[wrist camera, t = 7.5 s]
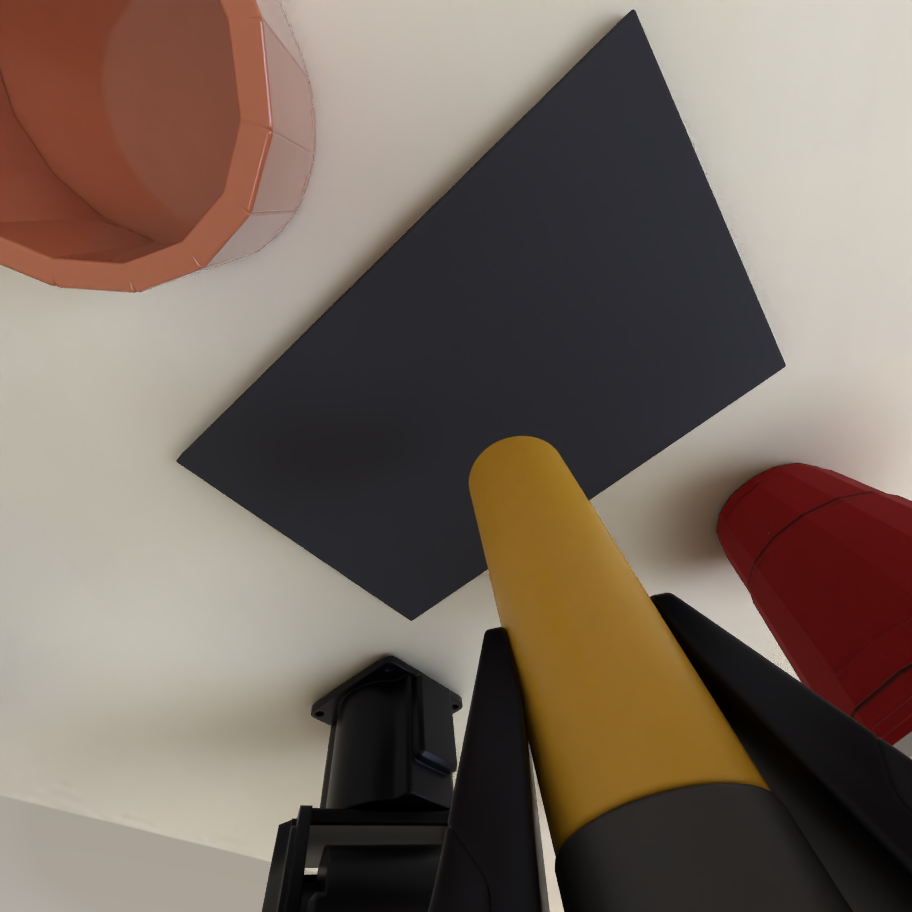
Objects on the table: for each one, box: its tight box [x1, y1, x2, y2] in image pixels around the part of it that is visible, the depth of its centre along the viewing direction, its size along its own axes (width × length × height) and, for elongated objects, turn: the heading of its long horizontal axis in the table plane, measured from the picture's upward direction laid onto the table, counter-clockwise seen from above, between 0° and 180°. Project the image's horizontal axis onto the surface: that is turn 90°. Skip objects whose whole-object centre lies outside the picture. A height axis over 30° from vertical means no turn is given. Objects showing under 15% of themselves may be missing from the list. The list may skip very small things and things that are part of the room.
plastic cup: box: [717, 463, 912, 759], centre depth 16 cm, size 11×11×12 cm
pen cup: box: [0, 0, 315, 293], centre depth 10 cm, size 8×8×5 cm
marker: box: [469, 436, 853, 912], centre depth 9 cm, size 3×3×11 cm
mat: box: [177, 10, 786, 621], centre depth 17 cm, size 20×13×1 cm, turn 130°
